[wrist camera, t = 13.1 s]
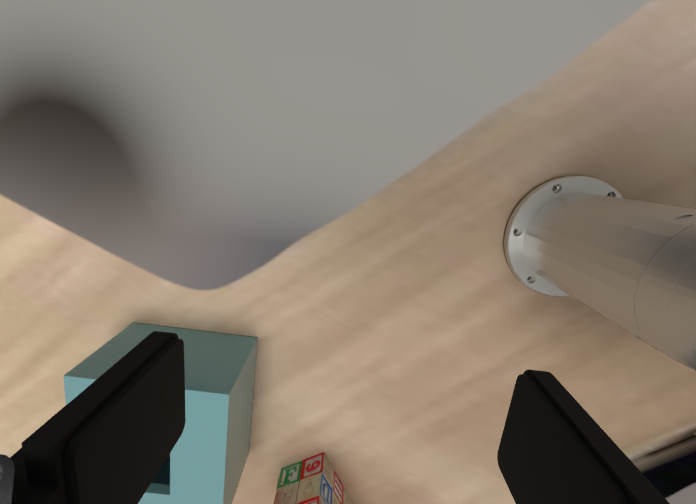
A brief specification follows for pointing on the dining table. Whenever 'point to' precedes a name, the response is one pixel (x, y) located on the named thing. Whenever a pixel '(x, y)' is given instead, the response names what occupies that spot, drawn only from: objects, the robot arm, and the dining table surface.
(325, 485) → the stack of blocks
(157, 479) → the coin box
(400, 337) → the dining table surface
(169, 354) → the robot arm
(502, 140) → the dining table surface
